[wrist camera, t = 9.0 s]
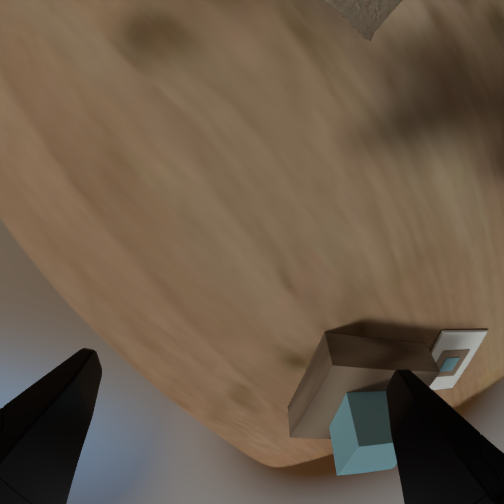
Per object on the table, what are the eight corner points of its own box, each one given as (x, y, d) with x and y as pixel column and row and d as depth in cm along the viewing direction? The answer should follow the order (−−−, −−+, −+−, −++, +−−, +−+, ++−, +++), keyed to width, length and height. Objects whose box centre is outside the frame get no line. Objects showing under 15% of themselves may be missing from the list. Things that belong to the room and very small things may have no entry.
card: (486, 329, 24) (488, 332, 24) (451, 385, 28) (452, 389, 28) (442, 330, 24) (444, 333, 24) (407, 390, 28) (409, 393, 27)
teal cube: (402, 389, 23) (420, 438, 18) (380, 423, 25) (392, 468, 20) (346, 392, 22) (359, 446, 18) (329, 426, 25) (337, 475, 20)
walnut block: (424, 340, 25) (440, 371, 22) (376, 408, 30) (384, 438, 26) (323, 328, 25) (332, 365, 21) (287, 403, 29) (289, 437, 25)
